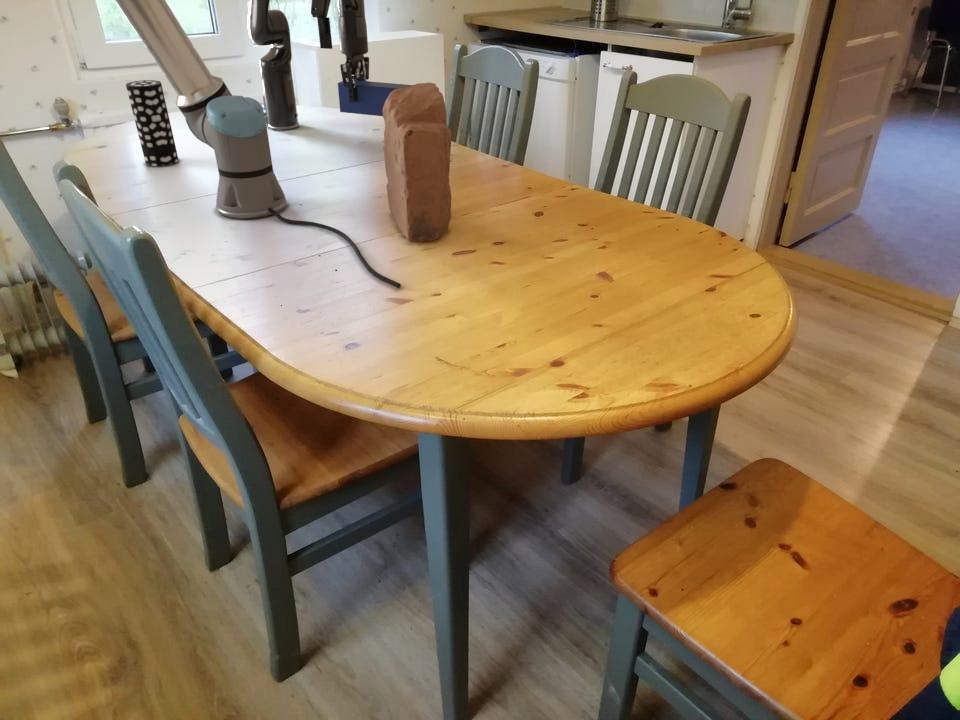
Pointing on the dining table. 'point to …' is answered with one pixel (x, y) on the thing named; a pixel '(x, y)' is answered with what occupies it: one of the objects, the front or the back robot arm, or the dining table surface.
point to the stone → (418, 161)
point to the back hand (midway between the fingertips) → (357, 99)
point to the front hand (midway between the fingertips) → (339, 44)
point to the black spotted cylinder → (152, 122)
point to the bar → (366, 97)
